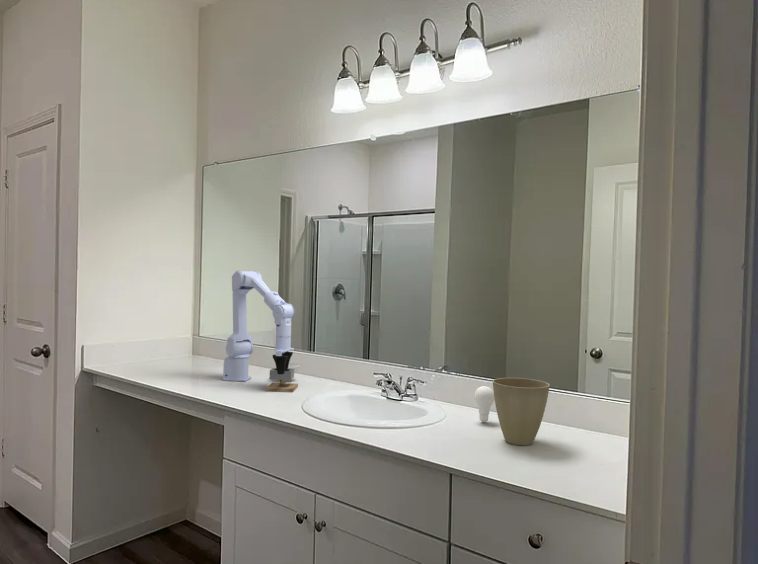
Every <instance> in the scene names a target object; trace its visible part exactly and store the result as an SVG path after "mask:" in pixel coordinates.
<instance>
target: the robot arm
mask: <svg viewBox="0 0 758 564" xmlns="http://www.w3.org/2000/svg"><path fill="white" fill-rule="evenodd" d="M231 290H232V334H231V335H230V336H228V337H227V341H226V346H225V352H226V354H227V357H225V358H224V361H223V374H222V375H223V377H222V378H223V379H222V381H229V382H230V381H233V382H235V381H237V382H247V381H249V380H250V379H251V378H252V376H250V375H249V362H250V361H249V358H251V355H252V354H253V353H254V344H253V339H252V336H251V335H250V334H249V333H248V326H247V325H248V323H247V322H248V321H247V294H248V293H249V292H250V291H252V290H256V291H257V292H258V293H259V294H260V295H261V296H262V297H263V302H264V303H265V304H266V306H268V308H269V309H270V310H271V311H272V317H273V320H274V324H275V338H274V339H275V343H274V344H275V345H274V347H275V348H274V351H275V354H272V359H273V361H274V363H275V368H277V373H278V374H284V370H285V369H288V366H289V363H290V361H291V358H292V356H293V354H294V352H293V351H295V348H294V347H291V346H292V319H294V317H295V315H296V309H295V307H294V306H293V304H291V303H288V302H286V301H285V300H284V299H283V298H282V297H281V296H280V295H279V293H278V292H277V291H272V290H271V289H270V288H269V287H268V285H267V284H266V283H265V281H264V280H263V274H261V273H260V272H259V271H257V270H251V271H250V270H236V271H235V272H234V273H233V274H232V275H231Z"/></svg>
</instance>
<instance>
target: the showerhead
mask: <svg viewBox="0 0 758 564" xmlns="http://www.w3.org/2000/svg"><path fill="white" fill-rule="evenodd" d="M288 369H294V371H299V370H300V364H297V363H294V362H293V363H292V362H289V366H288ZM287 382H288V383H289V382H291V380H285V383H287Z"/></svg>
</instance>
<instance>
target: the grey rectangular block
mask: <svg viewBox="0 0 758 564" xmlns="http://www.w3.org/2000/svg"><path fill="white" fill-rule="evenodd" d="M294 378H295V370H294V369H285V370H284V374H278V373H277V368H276V367H272V368H271V369H270V370H269V378H268V379H269V380H277V381H278V380H279V381H280V380H290V381H292V380H293V379H294Z"/></svg>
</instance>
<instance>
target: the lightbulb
mask: <svg viewBox="0 0 758 564" xmlns="http://www.w3.org/2000/svg"><path fill="white" fill-rule="evenodd" d="M473 396H474V401H475V403H476V405H477V407H478V413H479V421H480V422H481V423H483V424H485V423H486V422H488V421H489V414H490V411H491V407H492V405H493V403H495V399H494V390H493V389H492V388H491V387H489V386H485V385H481V386H480V387H479V386H478V387H477V388H476V390H475V392H474V395H473Z"/></svg>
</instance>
